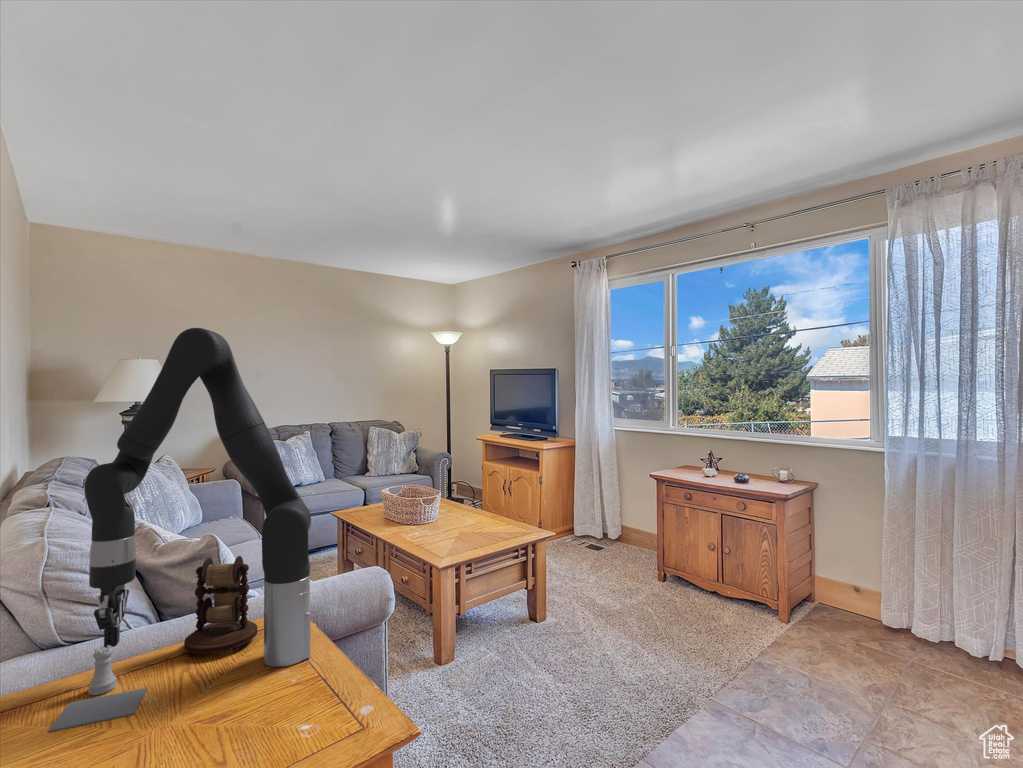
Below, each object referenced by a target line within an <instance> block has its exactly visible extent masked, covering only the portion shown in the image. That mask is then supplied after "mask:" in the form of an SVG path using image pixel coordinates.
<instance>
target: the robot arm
mask: <svg viewBox="0 0 1023 768" xmlns="http://www.w3.org/2000/svg"><path fill="white" fill-rule="evenodd" d="M232 351H233V350H232V349H231V347H230V344H229V343H228V341H227V340H226V339H225V338H224V336H222V335H221V334H219V333H217V332H215V331H212V330H209V329H206V328H203V327H191V328H187V329H185V330H183V331H182V332H180V333H179V334H178V335H177V336H176V338H175V339H174V341H173V343H172V344H171V347H170V350H169V351H168V354H167V356H166V358H165V360H164V363H163V366H162V368H161V369H160V372H159V373H158V375H157V378H156V380H155V382H154V383H153V385H152V387H151V389H150V391H149V392H148V394H147V396H146V398H145V399H144V401H143V402H142V403H141V406H140V407H139V409H138V410H137V412H136V413H135V415H134V416H133V417H132V418H131V420H130V421H129V423H128V424H127V426H126V428H125V429H124V430H123V431H122V433H121V435H120V436H119V438H118V440H117V443H116V446H117V448H118V450H119V451H118V453H117V455H116V457H115V459H113V461H112V462H108V463H102V464H98V465H97V466H95V467H93V468H92V469H91V470H90V471H89V472H88V474H87V476H86V477H85V482H84V494H85V495H84V496H85V501H86V504H87V508H88V511H89V514H90V517H91V521H92V522H91V543H90V544H91V545H90V549H89V573H88V574H89V580H88V583H89V584H88V585H89V587H90V588H91V589H99V590H100V592H99V593H100V595H98V597H97V605H98V609H96V608H95V610H94V612H93V616H94V619H95V621H96V624H97V626H98V629H99V631H101V630H104V631H103V646H104V648H106V646H107V645H110V646H112V648H114V647H117V645H118V644H119V643H120V634H121V633H120V631H121V630H120V627H121V624H122V622H123V620H122V619H124V617H125V614H126V607H127V602H128V598H129V593H130V590H129V589H127V588H126V584H129V583H132V581H134V580H135V578H136V571H137V569H136V567H137V563H136V562H137V560H136V559H137V544H136V535H135V531H136V530H135V527H136V519H135V518H136V517H135V511H134V510H133V508H131V507H127V505H126V499H125V495H126V494H129V493H130V492H133V491H134V490H136V488H138V486H139V485H140V484H142V481H143V480H144V478H145V477H146V474H147V473H148V470H149V467H150V466H151V463H152V461H153V458H154V455H155V453H156V452H157V451H158V450H159V448H160V446H161V445H162V443H163V441H164V440H165V439H166V437H167V436H168V434H169V433H170V431H171V430H172V428H173V426H174V423H175V422H176V419H177V416H178V414H179V411H180V408H181V405H182V403H183V400H184V398H185V396H186V394H188V391H189V389H190V388H191V387H192V385H194V383H195V381H196V380H198V379H200V380H201V382H202V383H203V385H204V387H205V389H206V390H207V393H208V394H209V395H208V396H209V398H210V400H211V405H212V409H213V415H214V416H213V417H214V422H215V426H216V430H217V433H218V436H219V439H220V441H221V444H223V447H224V449H225V451H226V453H227V455H228V457H229V459H230V460H231V462H232V464H233V466H234V467H236V469H237V471H238V472H239V473H240V474H241V475H242V476H243V478H245V480H246V481H247V482H248V483H249V484H250V485H251V487H252V488H253V489H254V492H256V495H257V497H258V498H259V500H260V503H261V505H262V508H263V510H264V513H265V518H264V520H263V523H262V526H261V527H262V529H261V567H262V569H263V570H262V571H263V577H264V579H263V580H264V583H263V584H264V585H263V593H264V595H263V608H264V609H263V663H264V665H267V666H269V667H273V668H280V667H288V666H292V665H295V664H297V663H301V662H302V661H304V660H307V658H308V659H310V658H311V592H310V591H311V580H310V579H311V562H310V556H309V530H310V528H311V524H312V515H311V513H310V510H309V507H307V505H306V504H305V502H304V500H303V499H302V497H301V496H300V495H299V493H298V491H297V490H296V488H295V486H294V485H293V483H292V482H291V481H292V480H290V478H289V476H288V474H287V471H286V469H285V466H284V463H283V460H282V458H281V456H280V453H279V451H278V448H277V447H276V444H275V441H274V439H273V437H272V435H271V432H270V431H269V429H268V427H267V424H266V423H265V420H264V418H263V417H262V415H261V413H260V411H259V410H258V407H257V405H256V403H255V402H254V400H253V398H252V397H251V394H250V393H249V391H248V390H247V388H246V386H245V384H244V382H243V380H242V377H241V375H240V372H239V369H238V367H237V366H238V365H237V363H236V360H235V358H234V355H233V352H232Z"/></svg>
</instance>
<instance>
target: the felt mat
mask: <svg viewBox="0 0 1023 768" xmlns="http://www.w3.org/2000/svg"><path fill="white" fill-rule="evenodd" d="M146 692H148V687H145V688H140V689H139V688H138V689H134V690H129V691H128V690H127V691H123V692H118V693H112V694H108V695H101V696H99V697H93V698H87V699H81V700H77V701H71V702H69V703H68V704H67V706H66V707H64V709H63V711H62V712H61V713H60V714H59V716H58V718H57V719H56V720H55V721H54V723H52V725H51V727H50V728H49V729H48V730H47V732H48V733H53V732H57V731H62V730H67V729H70V728H71V729H72V728H76V727H81V726H86V725H92V724H96V723H101V722H105V721H111V720H114V719H115V720H116V719H119V718H124V717H130V716H133V715H135V714H136V712H137V710H138V708H139V705H140V704H141V701H142V700H143V698H144V696H145V694H146Z"/></svg>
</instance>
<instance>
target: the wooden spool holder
mask: <svg viewBox="0 0 1023 768" xmlns="http://www.w3.org/2000/svg"><path fill="white" fill-rule="evenodd" d="M249 569H250V567H249V565H248V564H246V563H244V559H243V557H242V556H241V555H237V556H236V558H235V559H234V563H221V564H220V563H218V564H215V563H214V561H213V559H212V557H207V558H206V559H204V562H203V564H202V565H200V566H198V567H197V568H196V570H195V574H196V575H197V576H196V579H197V581H196V586H197V587H196V588H195V590H194V594H195V597H196V598H197V601H196V607H197V608H196V609H195V615H196V620H197V621H196V624H195V628H196V630H194V631H193V632H192V633H190V634H188V635H187V636H186V637H185V639H184V642H183V648H184V650H185V651H186V653H187V655H188V657H191V656H193V654H196V655H197V654H199V655H200V654H203V655H204V654H206V655H207V654H215V653H220V652H225V651H229V650H232V652H233V653H234V654H236V653H237V652H238V650H239V647H241V646H243V645H245V644H247V643H248V642H250V641H251V640H253V639H255V637H257V635H258V625H257V624H256V623H255V622H253V621H250V620H249V619H248V617H247V615H248V611H249V604H247V603H248V597H247V595H248V593H249V590H250V585H249V584H248V580H249V579H248V577H247V575H248V574H249V573H248V571H249ZM205 585H206V586H205ZM207 587H208V588H207ZM206 594H207V595H213V599H212V598H210V597H206V598H204V597H205V595H206ZM213 602H214V603H213Z"/></svg>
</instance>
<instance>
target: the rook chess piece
mask: <svg viewBox="0 0 1023 768" xmlns="http://www.w3.org/2000/svg"><path fill="white" fill-rule="evenodd" d="M114 651H115V650H114V649H113V647H112V646H110V645H107V646H106V648H105V647H104V645H102V646H100V647H97V648H96V649H94V653H93V654H92V658H94V659H95V661H94V663H93V665H95V667H94V673H93V677H92V679H91V681H90V682H89V684H88V688H89V689H88V690H87V692H88V695H91V696H103V695H104V694H108V693H110V692H111V691H113V690H114V689H115V688H116V686H118V682H117V677H116V675H115V674H114V672H113V669H112V661H113V657H112V654H113V653H114Z"/></svg>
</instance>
